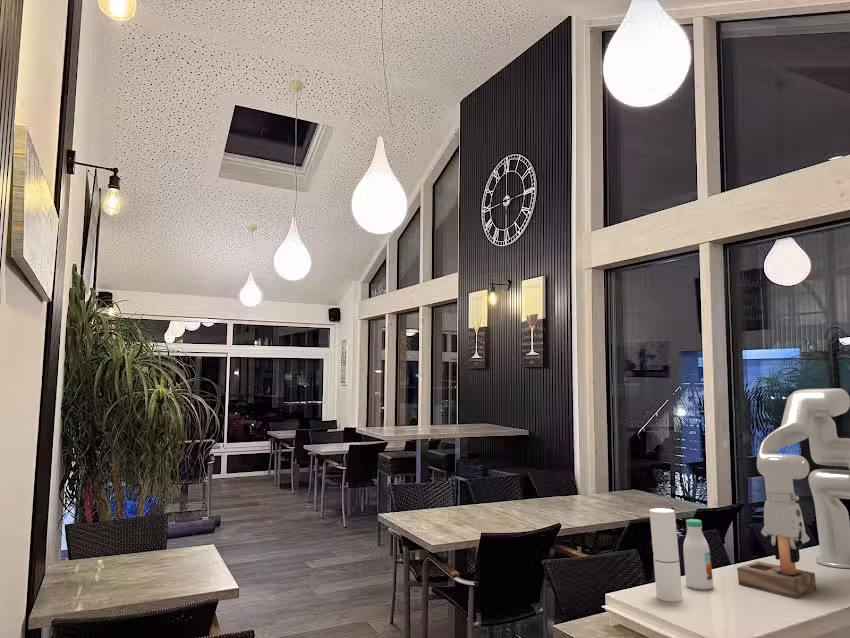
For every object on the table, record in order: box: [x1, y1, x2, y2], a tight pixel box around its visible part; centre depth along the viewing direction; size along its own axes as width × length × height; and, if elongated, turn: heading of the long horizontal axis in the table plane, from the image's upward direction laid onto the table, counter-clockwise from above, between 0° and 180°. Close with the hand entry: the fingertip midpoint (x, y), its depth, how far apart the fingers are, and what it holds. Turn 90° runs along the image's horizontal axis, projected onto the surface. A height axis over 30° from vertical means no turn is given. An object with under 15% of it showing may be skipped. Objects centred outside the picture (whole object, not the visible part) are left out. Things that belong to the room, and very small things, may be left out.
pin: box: [777, 535, 797, 575], centre depth 182 cm, size 4×4×12 cm
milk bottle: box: [682, 518, 714, 591], centre depth 189 cm, size 8×8×20 cm
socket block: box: [736, 560, 817, 599], centre depth 184 cm, size 12×17×5 cm
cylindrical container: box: [649, 507, 683, 602], centre depth 180 cm, size 7×7×25 cm
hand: (787, 559), depth 181 cm, fingers closed on pin, 4 cm apart
